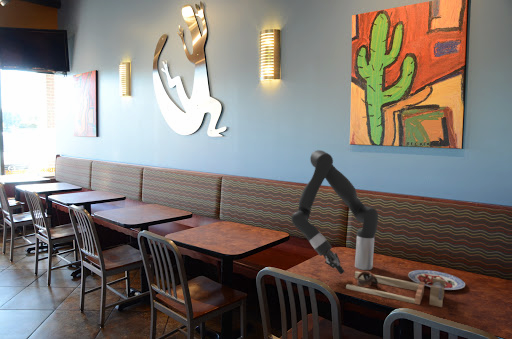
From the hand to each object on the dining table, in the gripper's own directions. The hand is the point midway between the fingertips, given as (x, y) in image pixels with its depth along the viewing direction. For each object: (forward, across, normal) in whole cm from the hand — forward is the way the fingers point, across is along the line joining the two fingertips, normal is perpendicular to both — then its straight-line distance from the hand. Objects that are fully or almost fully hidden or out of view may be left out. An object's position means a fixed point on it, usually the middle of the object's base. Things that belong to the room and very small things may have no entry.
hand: (342, 272), depth 195 cm
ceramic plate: (+32, +24, -25) cm, 47 cm away
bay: (+17, 0, -12) cm, 21 cm away
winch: (+33, -1, -27) cm, 43 cm away
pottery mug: (+12, 0, -6) cm, 13 cm away
